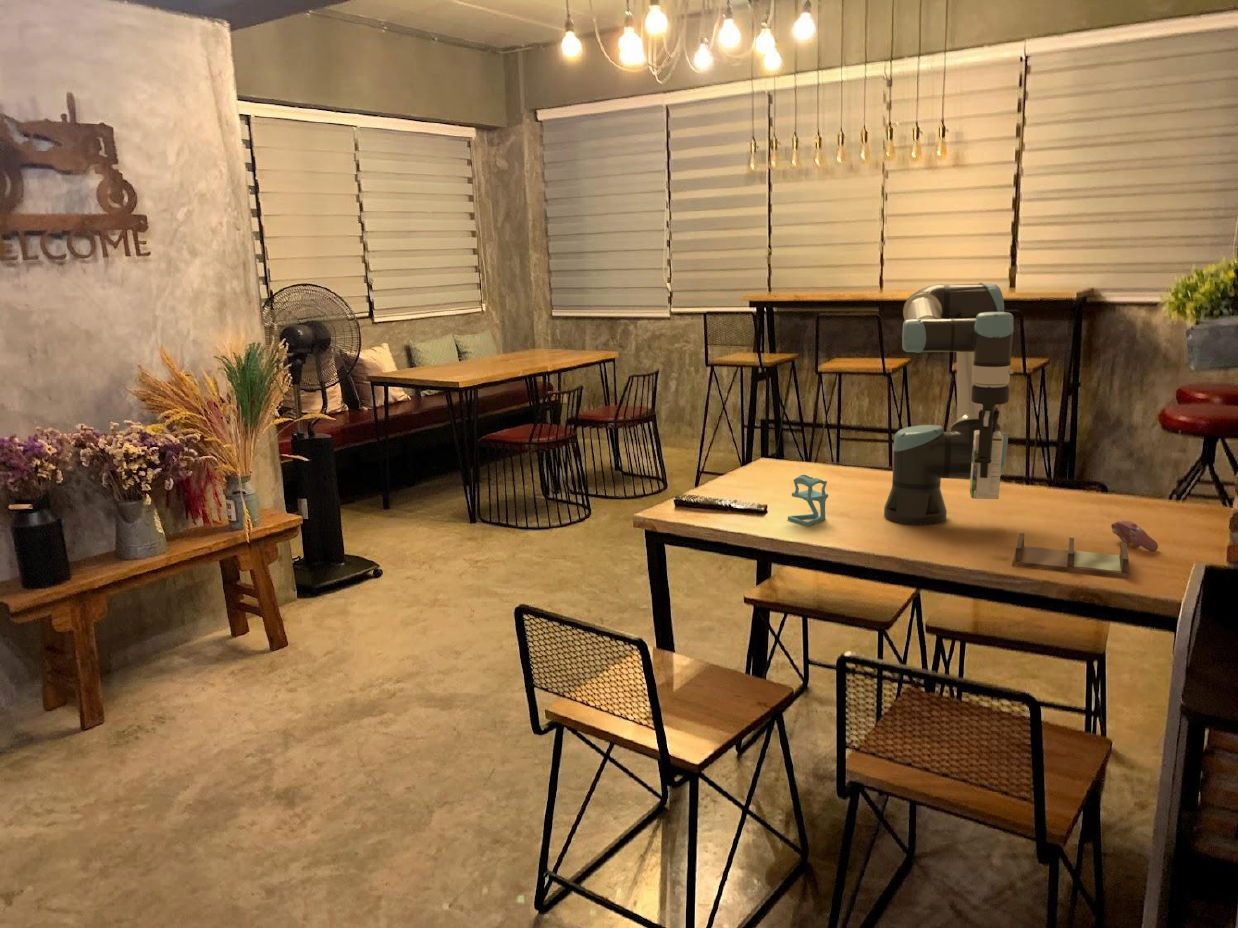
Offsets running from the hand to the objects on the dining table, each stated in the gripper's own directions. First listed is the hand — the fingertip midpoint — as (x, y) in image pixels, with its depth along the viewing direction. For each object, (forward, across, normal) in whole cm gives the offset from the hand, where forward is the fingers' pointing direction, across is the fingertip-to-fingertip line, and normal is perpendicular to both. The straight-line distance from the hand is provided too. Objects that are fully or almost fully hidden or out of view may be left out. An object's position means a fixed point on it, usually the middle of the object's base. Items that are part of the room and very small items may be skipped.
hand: (984, 487), depth 203 cm
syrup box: (+2, 0, 0) cm, 2 cm away
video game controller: (+15, +14, -30) cm, 37 cm away
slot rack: (+14, -4, -18) cm, 23 cm away
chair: (+15, +9, +42) cm, 45 cm away
